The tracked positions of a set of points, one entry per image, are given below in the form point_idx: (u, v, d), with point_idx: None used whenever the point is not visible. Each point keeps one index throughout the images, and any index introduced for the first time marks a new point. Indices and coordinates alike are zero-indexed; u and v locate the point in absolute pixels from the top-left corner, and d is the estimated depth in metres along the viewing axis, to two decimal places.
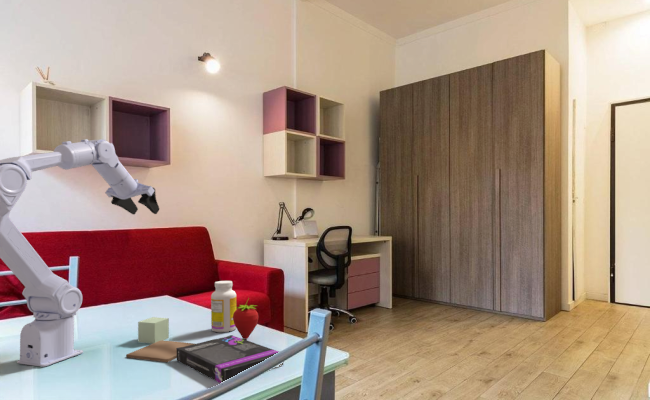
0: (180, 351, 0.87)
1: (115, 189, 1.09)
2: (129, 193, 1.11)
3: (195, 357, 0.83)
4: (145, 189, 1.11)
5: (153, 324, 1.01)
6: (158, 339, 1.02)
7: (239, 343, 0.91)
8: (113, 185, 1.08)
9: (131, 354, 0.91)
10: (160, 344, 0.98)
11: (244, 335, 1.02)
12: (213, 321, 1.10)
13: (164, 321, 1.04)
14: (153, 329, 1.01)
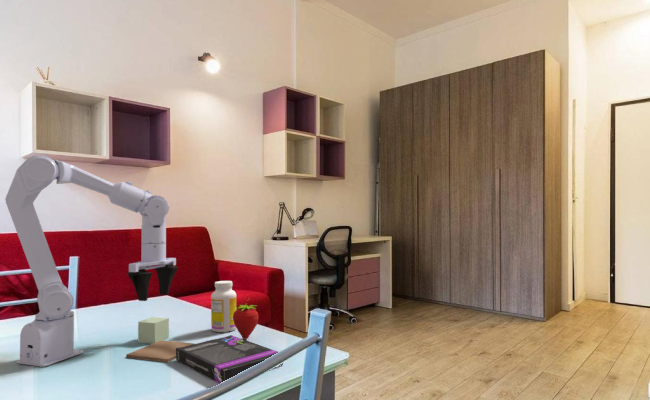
0: (179, 351, 0.87)
1: None
2: (141, 260, 1.03)
3: (194, 357, 0.83)
4: None
5: (153, 324, 1.01)
6: (158, 339, 1.02)
7: (239, 343, 0.91)
8: None
9: (131, 354, 0.91)
10: (160, 344, 0.98)
11: (244, 335, 1.02)
12: (213, 321, 1.10)
13: (164, 321, 1.04)
14: (153, 329, 1.01)
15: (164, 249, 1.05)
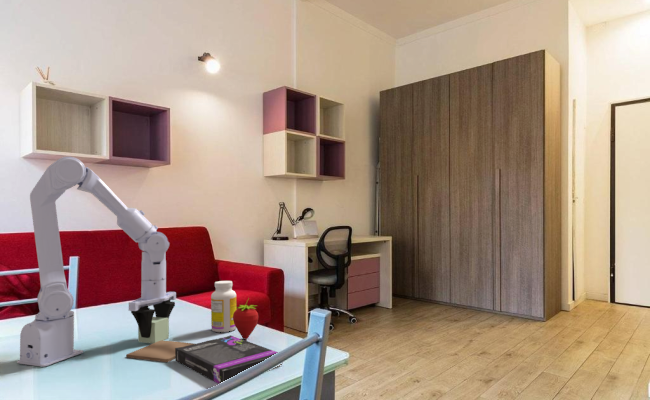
0: (179, 351, 0.87)
1: None
2: (141, 296, 1.03)
3: (194, 357, 0.83)
4: None
5: (153, 324, 1.01)
6: (158, 339, 1.02)
7: (238, 343, 0.91)
8: None
9: (131, 354, 0.91)
10: (160, 344, 0.98)
11: (244, 335, 1.02)
12: (213, 321, 1.10)
13: (164, 321, 1.04)
14: (153, 329, 1.01)
15: (164, 285, 1.04)
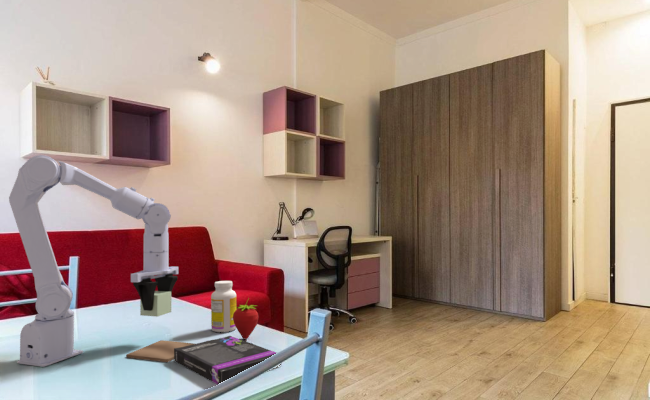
0: (178, 351, 0.87)
1: None
2: None
3: (192, 358, 0.82)
4: None
5: (156, 296, 0.99)
6: (161, 312, 1.00)
7: (237, 344, 0.91)
8: None
9: (131, 354, 0.91)
10: (160, 344, 0.98)
11: (244, 335, 1.02)
12: (213, 321, 1.10)
13: (167, 294, 1.02)
14: (155, 302, 0.99)
15: (167, 258, 1.02)
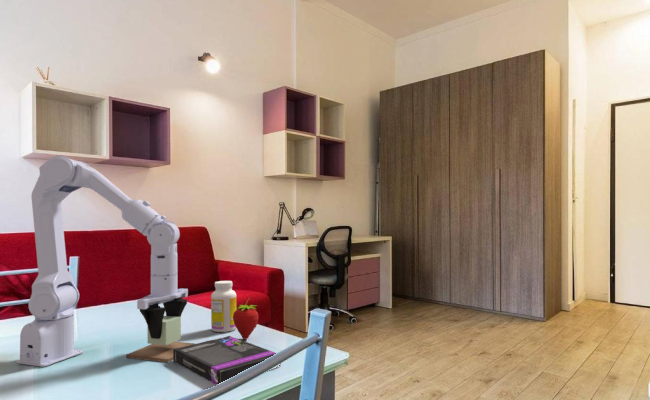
0: (177, 352, 0.87)
1: None
2: None
3: (191, 358, 0.82)
4: None
5: (164, 323, 0.92)
6: (169, 340, 0.93)
7: (236, 344, 0.91)
8: None
9: (131, 354, 0.91)
10: None
11: (244, 335, 1.02)
12: (213, 321, 1.10)
13: (176, 320, 0.95)
14: (164, 329, 0.92)
15: (176, 281, 0.95)
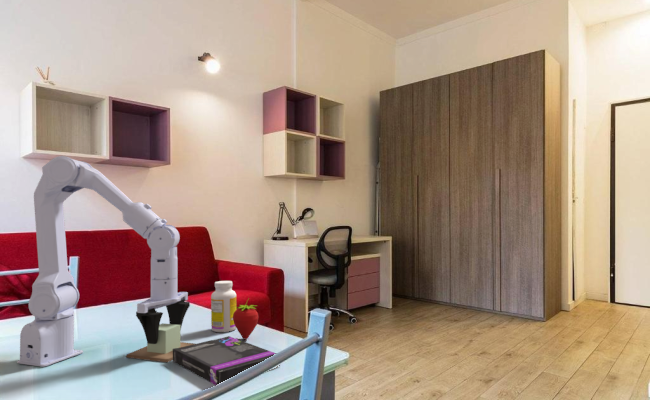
0: (176, 352, 0.87)
1: None
2: None
3: (191, 358, 0.82)
4: None
5: (164, 331, 0.92)
6: (169, 348, 0.93)
7: (236, 344, 0.90)
8: None
9: (131, 354, 0.91)
10: None
11: (244, 335, 1.02)
12: (213, 321, 1.10)
13: (176, 328, 0.95)
14: (163, 337, 0.92)
15: (176, 285, 0.95)
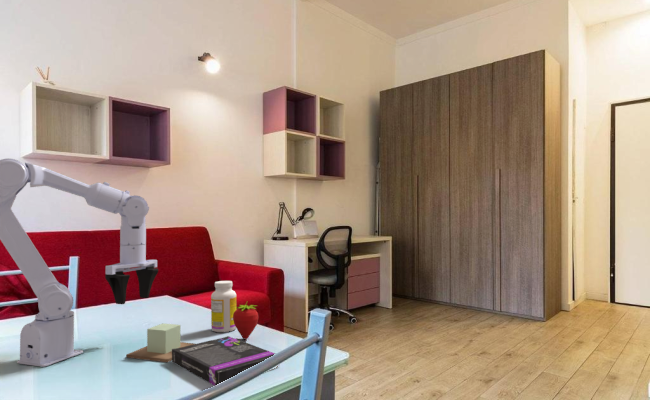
0: (175, 352, 0.87)
1: None
2: (120, 262, 1.00)
3: (190, 358, 0.82)
4: None
5: (164, 331, 0.92)
6: (169, 348, 0.93)
7: (235, 344, 0.90)
8: None
9: (131, 354, 0.91)
10: None
11: (244, 335, 1.02)
12: (213, 321, 1.10)
13: (176, 328, 0.95)
14: (163, 337, 0.92)
15: (143, 251, 1.02)
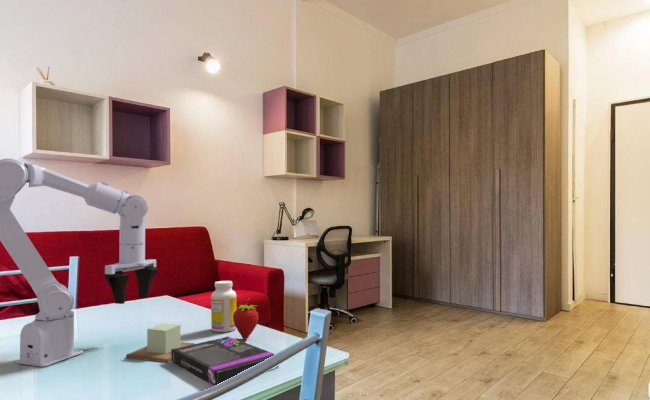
0: (175, 352, 0.87)
1: None
2: (119, 261, 1.01)
3: (189, 358, 0.82)
4: None
5: (164, 331, 0.92)
6: (169, 348, 0.93)
7: (235, 345, 0.90)
8: None
9: (131, 354, 0.91)
10: None
11: (244, 335, 1.02)
12: (213, 321, 1.10)
13: (176, 328, 0.95)
14: (163, 337, 0.92)
15: (143, 250, 1.02)
